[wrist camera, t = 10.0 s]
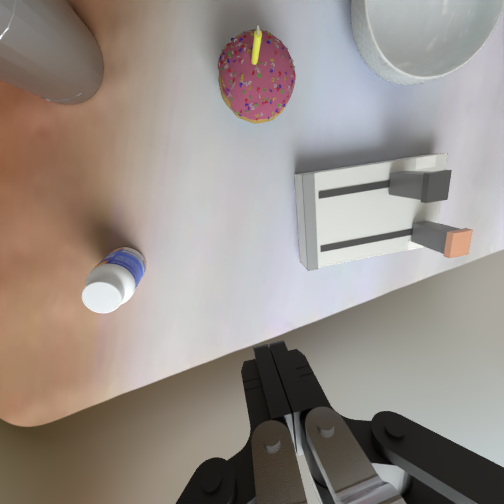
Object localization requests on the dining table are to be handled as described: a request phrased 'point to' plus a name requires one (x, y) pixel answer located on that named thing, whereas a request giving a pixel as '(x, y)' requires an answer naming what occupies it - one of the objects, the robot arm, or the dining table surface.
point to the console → (359, 211)
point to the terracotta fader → (442, 238)
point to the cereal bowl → (421, 35)
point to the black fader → (421, 185)
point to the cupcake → (256, 76)
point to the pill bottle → (113, 280)
